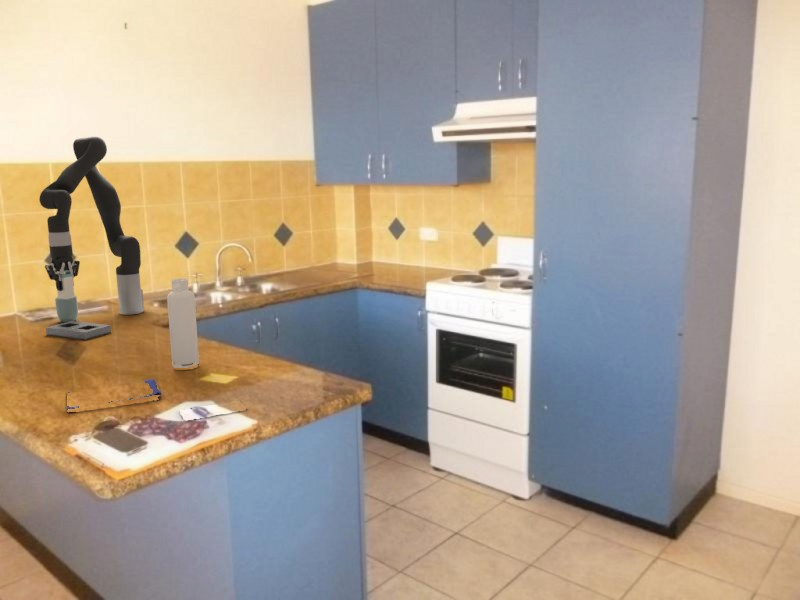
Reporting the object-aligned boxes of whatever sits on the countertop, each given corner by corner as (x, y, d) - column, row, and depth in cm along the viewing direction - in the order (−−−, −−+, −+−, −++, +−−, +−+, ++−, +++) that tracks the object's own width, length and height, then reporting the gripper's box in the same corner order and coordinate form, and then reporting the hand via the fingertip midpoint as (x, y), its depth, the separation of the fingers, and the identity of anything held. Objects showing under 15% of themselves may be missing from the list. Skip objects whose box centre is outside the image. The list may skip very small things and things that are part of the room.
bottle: (204, 364, 214) (198, 278, 209) (188, 372, 207) (182, 282, 201) (183, 362, 217) (176, 276, 211) (167, 369, 209) (159, 281, 204)
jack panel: (73, 328, 264) (72, 320, 263) (111, 332, 256) (110, 325, 255) (46, 335, 253) (45, 327, 252) (85, 340, 245) (84, 332, 244)
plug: (67, 296, 256) (64, 273, 254) (74, 297, 255) (72, 273, 253) (58, 298, 253) (55, 274, 251) (65, 299, 251) (63, 275, 249)
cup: (70, 323, 271) (67, 299, 269) (53, 323, 273) (50, 299, 271) (83, 319, 279) (80, 295, 277) (66, 318, 280) (64, 295, 278)
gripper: (69, 241, 257) (73, 285, 261) (36, 245, 245) (41, 292, 248) (83, 242, 255) (88, 286, 258) (51, 246, 242) (56, 293, 245)
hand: (65, 289), depth 253 cm, fingers closed on plug, 4 cm apart
